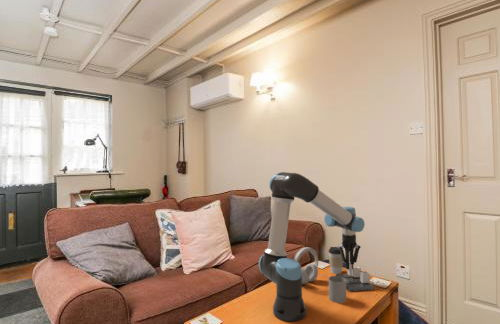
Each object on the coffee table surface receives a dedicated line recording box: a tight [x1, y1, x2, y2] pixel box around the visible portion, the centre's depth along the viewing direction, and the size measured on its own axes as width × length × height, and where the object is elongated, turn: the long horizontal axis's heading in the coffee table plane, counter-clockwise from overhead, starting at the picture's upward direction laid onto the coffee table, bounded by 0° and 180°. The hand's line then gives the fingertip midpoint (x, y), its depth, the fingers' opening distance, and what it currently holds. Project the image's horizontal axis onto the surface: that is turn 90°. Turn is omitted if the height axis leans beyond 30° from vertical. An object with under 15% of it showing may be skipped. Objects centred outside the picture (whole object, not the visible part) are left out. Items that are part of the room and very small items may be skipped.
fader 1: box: [352, 266, 362, 277], centre depth 168 cm, size 4×3×5 cm
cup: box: [328, 275, 347, 304], centre depth 146 cm, size 8×8×10 cm
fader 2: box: [360, 271, 371, 283], centre depth 160 cm, size 4×3×5 cm
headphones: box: [293, 246, 319, 285], centre depth 166 cm, size 19×8×20 cm, turn 126°
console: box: [335, 273, 375, 292], centre depth 164 cm, size 14×18×3 cm
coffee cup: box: [328, 246, 344, 275], centre depth 181 cm, size 9×9×15 cm
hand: (349, 274), depth 168 cm, fingers closed
